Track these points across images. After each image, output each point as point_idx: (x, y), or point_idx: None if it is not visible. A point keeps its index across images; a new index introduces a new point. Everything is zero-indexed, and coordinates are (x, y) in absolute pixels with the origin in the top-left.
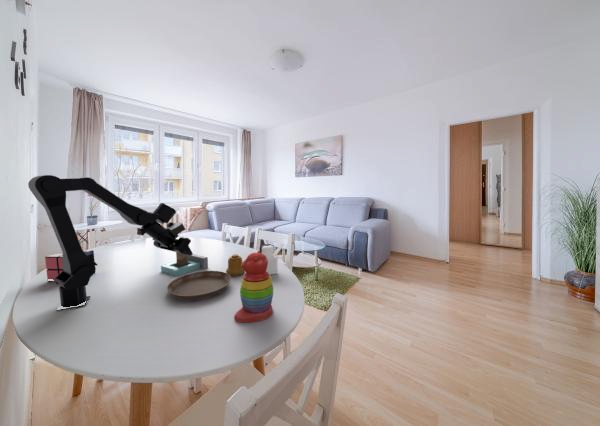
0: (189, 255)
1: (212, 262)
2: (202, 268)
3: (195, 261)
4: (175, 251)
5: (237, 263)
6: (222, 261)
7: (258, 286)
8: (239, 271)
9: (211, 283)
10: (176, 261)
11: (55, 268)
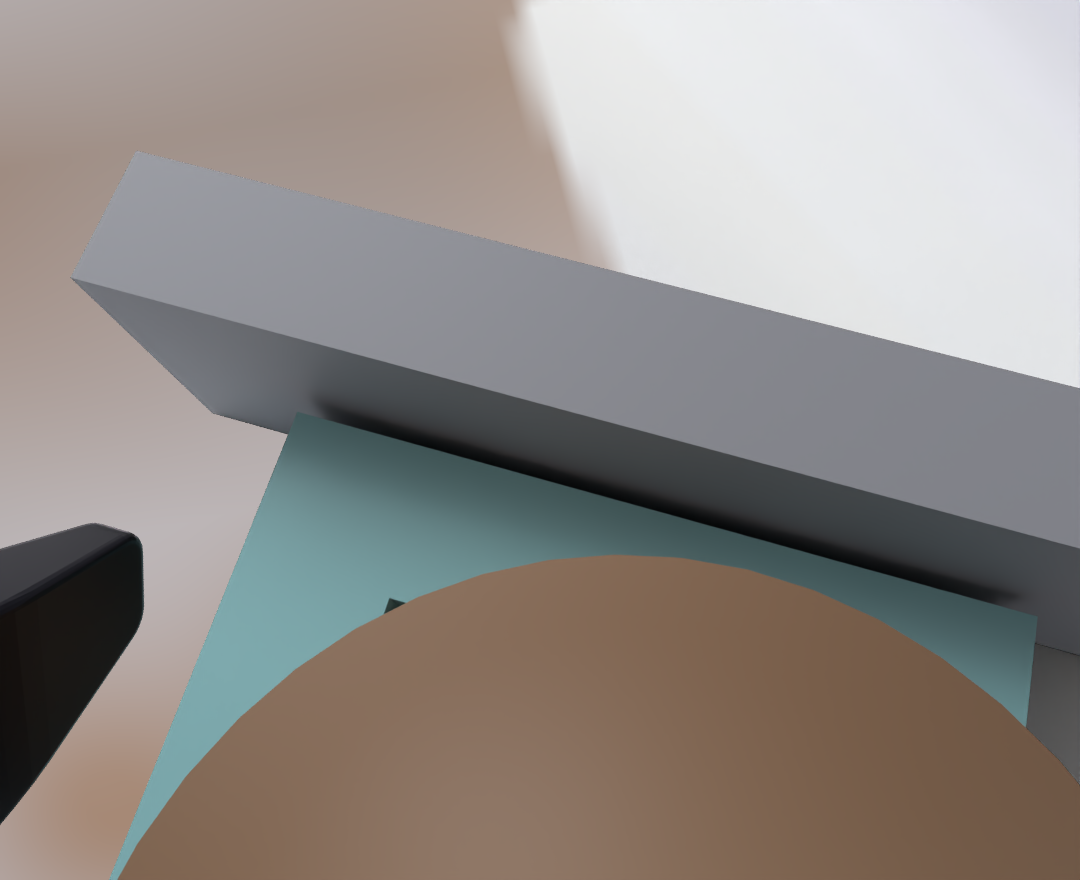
0: (511, 401)
1: (894, 183)
2: (1042, 644)
3: (800, 533)
4: (21, 791)
5: None
6: (1061, 78)
7: None
8: None
9: None
10: (198, 689)
11: None
